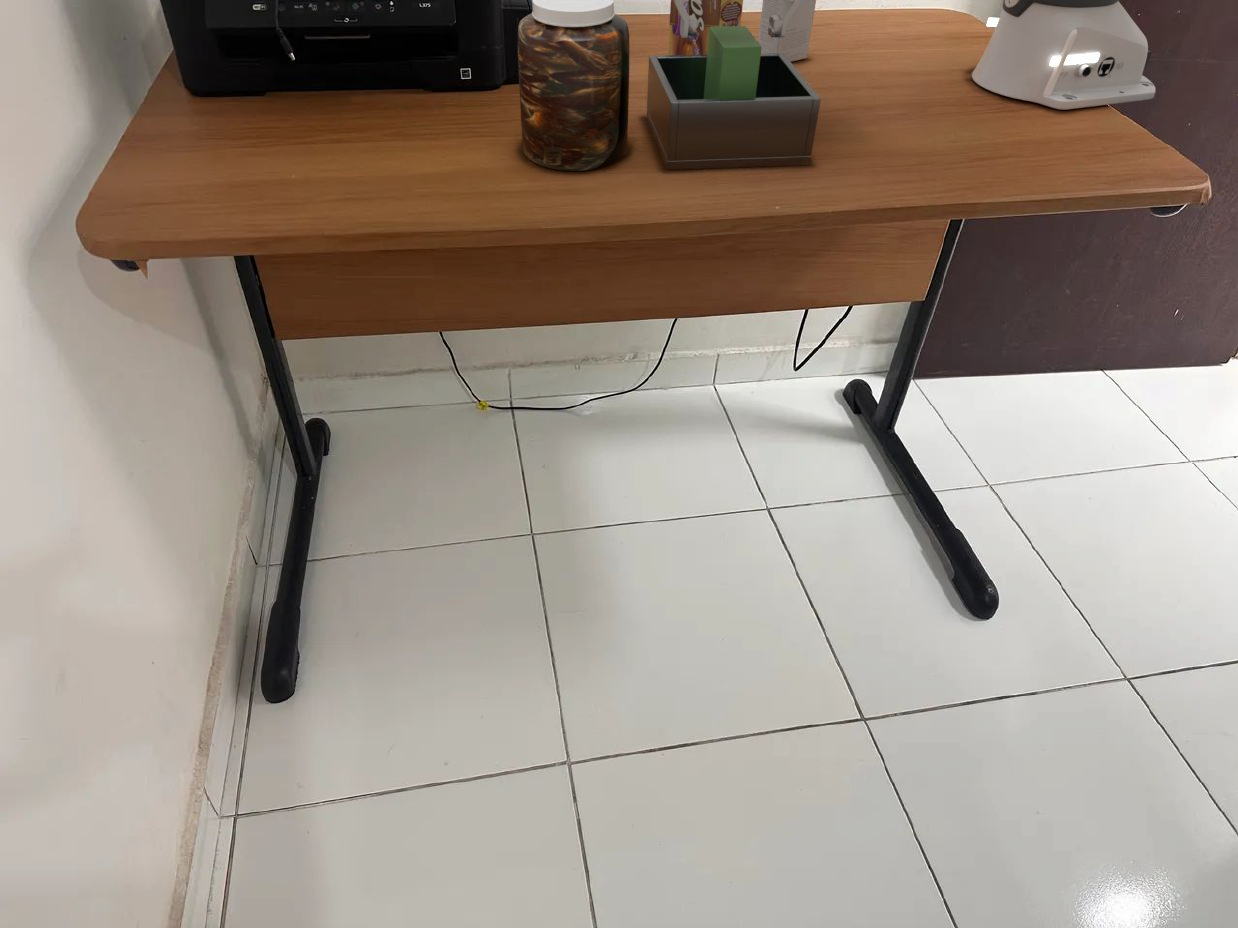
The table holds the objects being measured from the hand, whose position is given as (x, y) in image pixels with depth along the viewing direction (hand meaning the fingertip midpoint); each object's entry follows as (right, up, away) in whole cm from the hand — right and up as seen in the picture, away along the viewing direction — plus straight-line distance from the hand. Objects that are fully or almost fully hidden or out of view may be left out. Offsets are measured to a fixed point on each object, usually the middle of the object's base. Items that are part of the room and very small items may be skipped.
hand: (732, 36), depth 90 cm
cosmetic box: (+11, +11, +29) cm, 33 cm away
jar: (-17, -10, +5) cm, 20 cm away
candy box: (-1, +5, +22) cm, 22 cm away
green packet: (0, -7, +7) cm, 10 cm away
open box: (0, -8, +7) cm, 11 cm away
